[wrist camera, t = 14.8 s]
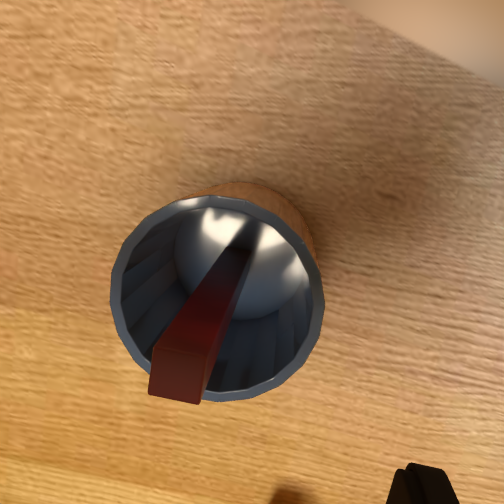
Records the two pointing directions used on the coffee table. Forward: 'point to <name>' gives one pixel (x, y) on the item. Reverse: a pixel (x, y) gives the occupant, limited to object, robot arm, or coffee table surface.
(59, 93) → the coffee table surface
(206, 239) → the cup
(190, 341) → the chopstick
